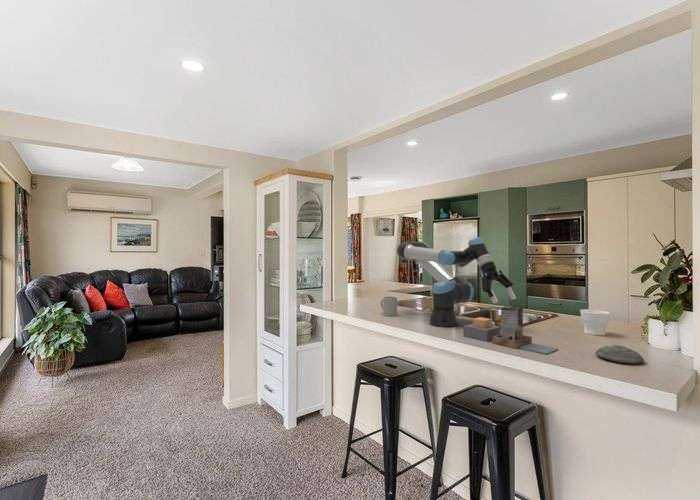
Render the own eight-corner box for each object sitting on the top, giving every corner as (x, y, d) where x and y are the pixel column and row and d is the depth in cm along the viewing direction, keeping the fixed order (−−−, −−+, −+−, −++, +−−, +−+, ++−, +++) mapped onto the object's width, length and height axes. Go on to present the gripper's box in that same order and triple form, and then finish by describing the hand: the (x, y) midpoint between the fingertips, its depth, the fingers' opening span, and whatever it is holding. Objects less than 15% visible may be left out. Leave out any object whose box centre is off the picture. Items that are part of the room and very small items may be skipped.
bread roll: (509, 331, 182) (509, 315, 182) (489, 328, 189) (490, 313, 188) (516, 327, 192) (517, 312, 192) (498, 324, 198) (498, 310, 198)
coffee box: (508, 340, 165) (508, 305, 164) (523, 342, 160) (523, 306, 160) (500, 343, 158) (500, 307, 158) (515, 346, 154) (515, 309, 153)
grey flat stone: (591, 352, 147) (591, 338, 147) (635, 356, 142) (636, 342, 142) (600, 363, 134) (600, 348, 134) (650, 368, 128) (650, 353, 128)
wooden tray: (491, 343, 159) (492, 336, 159) (507, 338, 168) (507, 331, 168) (516, 348, 150) (516, 341, 150) (531, 343, 159) (531, 336, 159)
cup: (575, 329, 186) (576, 308, 186) (602, 331, 183) (602, 309, 183) (586, 335, 174) (586, 313, 173) (615, 337, 171) (615, 314, 171)
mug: (399, 315, 222) (400, 297, 222) (390, 317, 216) (390, 299, 216) (385, 312, 231) (385, 295, 231) (376, 314, 225) (376, 296, 225)
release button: (472, 329, 171) (473, 318, 171) (479, 327, 175) (479, 317, 175) (484, 331, 166) (484, 320, 166) (491, 329, 170) (491, 319, 170)
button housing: (463, 336, 171) (463, 325, 171) (477, 332, 179) (477, 322, 179) (486, 341, 162) (487, 330, 162) (500, 337, 170) (500, 326, 169)
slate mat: (519, 348, 151) (519, 347, 151) (531, 344, 158) (531, 342, 158) (546, 354, 142) (546, 353, 142) (558, 349, 149) (558, 348, 149)
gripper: (474, 262, 181) (493, 301, 172) (507, 259, 193) (526, 294, 184) (464, 269, 187) (482, 307, 178) (497, 265, 199) (515, 300, 190)
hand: (505, 301), depth 181 cm, fingers open, 13 cm apart
